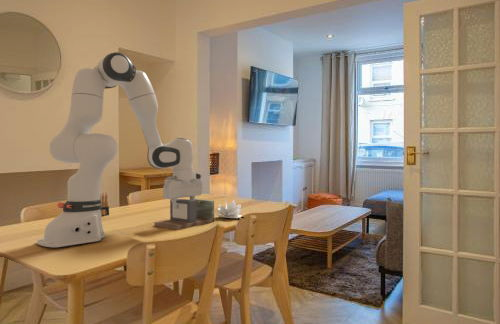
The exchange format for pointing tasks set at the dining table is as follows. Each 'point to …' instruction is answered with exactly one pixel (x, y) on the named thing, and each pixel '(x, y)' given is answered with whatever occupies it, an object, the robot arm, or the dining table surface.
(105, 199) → the ammunition clip
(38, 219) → the dining table surface
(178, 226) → the bookend
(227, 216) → the lotus flower
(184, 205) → the picture frame
